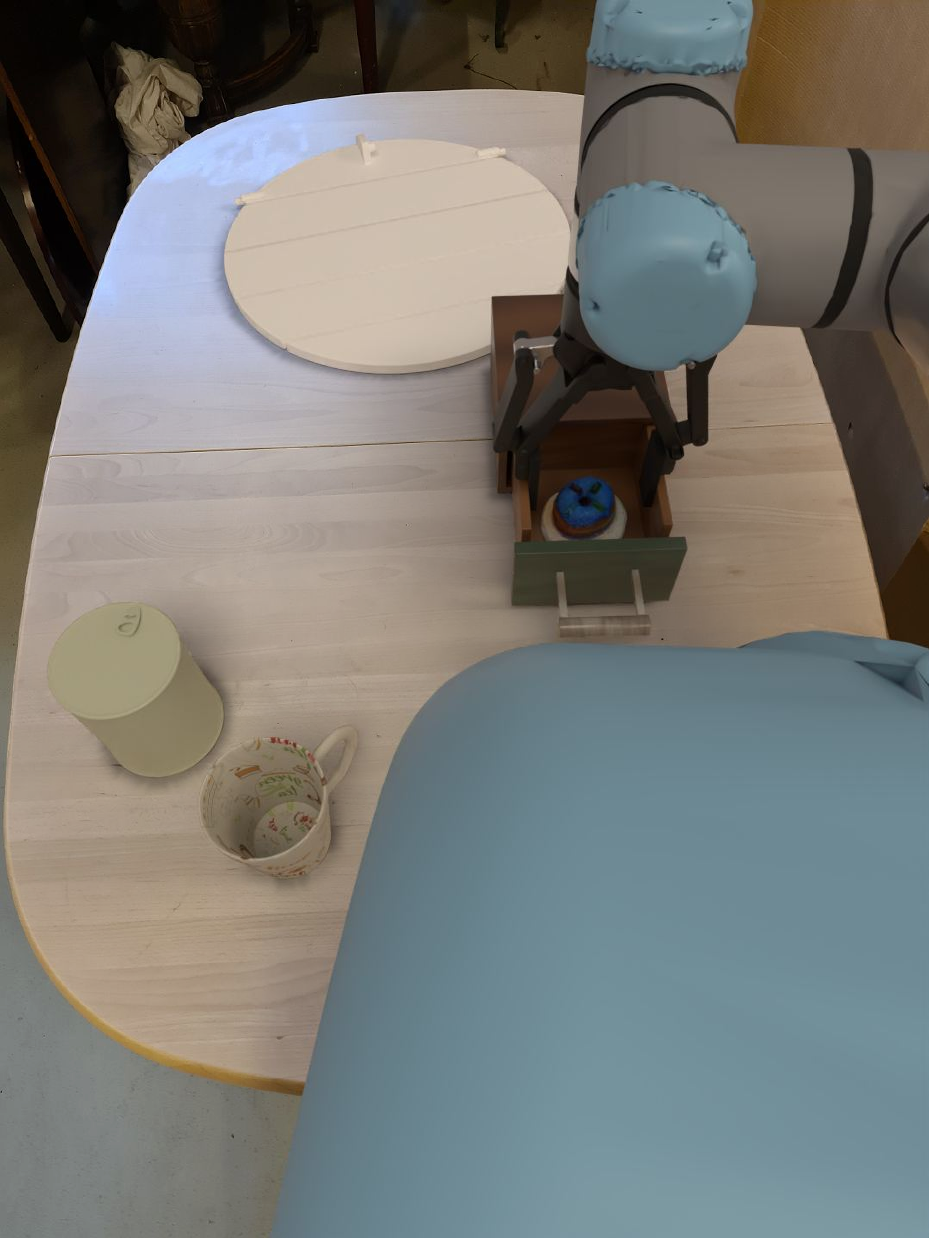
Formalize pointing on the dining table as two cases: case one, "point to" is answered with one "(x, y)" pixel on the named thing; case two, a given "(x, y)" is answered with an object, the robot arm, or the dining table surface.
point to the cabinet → (550, 372)
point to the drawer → (600, 565)
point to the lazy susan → (393, 253)
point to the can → (136, 688)
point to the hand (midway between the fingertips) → (587, 496)
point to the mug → (273, 803)
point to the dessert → (583, 512)
